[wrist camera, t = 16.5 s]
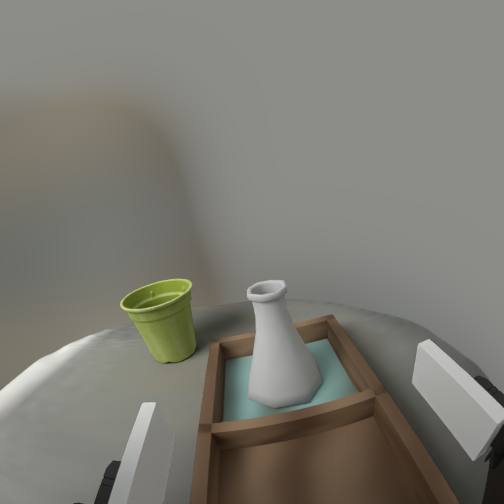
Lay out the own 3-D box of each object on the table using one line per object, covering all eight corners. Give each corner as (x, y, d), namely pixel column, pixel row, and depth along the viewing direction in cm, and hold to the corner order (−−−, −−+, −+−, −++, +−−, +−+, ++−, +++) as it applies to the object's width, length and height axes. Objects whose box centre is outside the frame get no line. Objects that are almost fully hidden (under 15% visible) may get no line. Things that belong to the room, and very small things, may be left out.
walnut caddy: (204, 595, 4) (183, 593, 3) (217, 360, 30) (211, 339, 30) (450, 536, 4) (471, 523, 3) (333, 335, 30) (332, 314, 30)
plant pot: (224, 344, 34) (207, 282, 32) (165, 382, 27) (138, 315, 25) (183, 328, 40) (167, 276, 38) (133, 356, 34) (110, 300, 32)
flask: (327, 360, 25) (317, 267, 23) (317, 412, 19) (305, 306, 17) (259, 359, 28) (240, 273, 26) (235, 406, 21) (204, 309, 19)
